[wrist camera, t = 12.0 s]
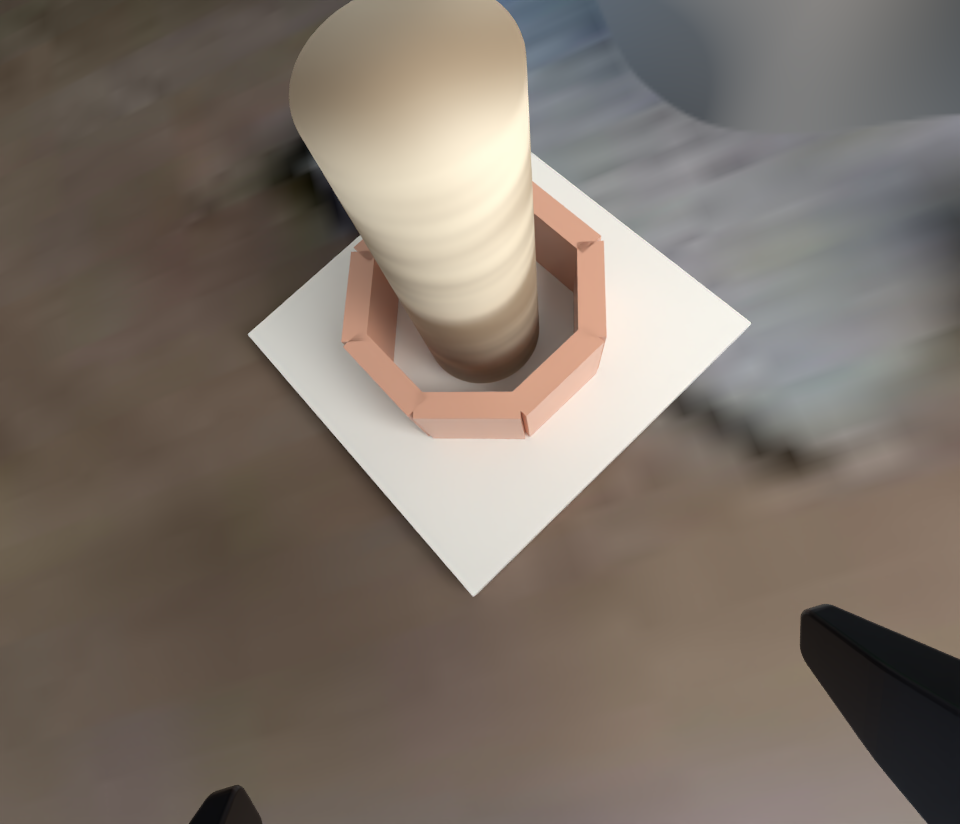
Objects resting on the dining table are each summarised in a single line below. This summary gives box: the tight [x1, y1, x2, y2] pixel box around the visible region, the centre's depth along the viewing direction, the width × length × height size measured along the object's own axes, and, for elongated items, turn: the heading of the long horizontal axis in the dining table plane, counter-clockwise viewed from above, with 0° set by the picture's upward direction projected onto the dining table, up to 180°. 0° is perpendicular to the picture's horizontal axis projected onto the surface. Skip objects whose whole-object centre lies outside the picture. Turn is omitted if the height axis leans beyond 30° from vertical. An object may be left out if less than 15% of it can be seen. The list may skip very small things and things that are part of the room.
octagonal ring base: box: [248, 153, 751, 597], centre depth 22 cm, size 16×16×4 cm
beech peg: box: [289, 0, 539, 383], centre depth 17 cm, size 5×5×13 cm
